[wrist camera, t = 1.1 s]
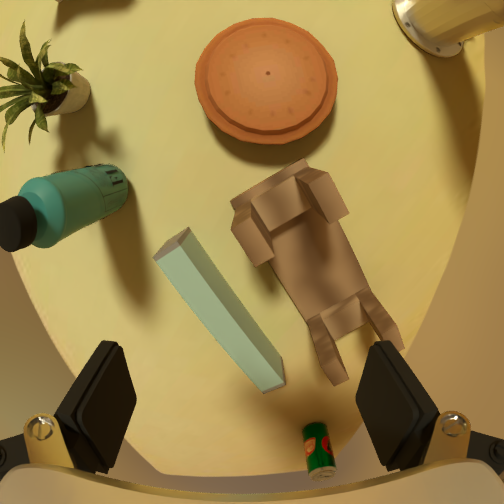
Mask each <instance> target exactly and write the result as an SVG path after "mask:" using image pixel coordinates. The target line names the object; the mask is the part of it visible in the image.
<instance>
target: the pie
mask: <svg viewBox="0 0 504 504" xmlns="http://www.w3.org/2000/svg"><path fill="white" fill-rule="evenodd" d="M337 83H338V77H337V72H336V68H335V63H334V60H333V58H332V57H331V56H330V54H329V53H328V52H327V50H326V49H325V48H324V47H323V45H322V44H321V43H320V42H319V41H318V40H317V39H316V38H315V37H314V36H312V35H311V34H310V33H309V32H308V31H306V30H304V29H302V28H300V27H298V26H296V25H294V24H292V23H289V22H285V21H282V20H278V19H274V18H252V19H249V20H245V21H242V22H239V23H236V24H233V25H232V26H230V27H228V28H227V29H225V30H223V31H222V32H220V33H219V34H217V35H216V36H215V37H214V38H213V40H212V41H211V42H210V43H209V44H208V45H207V46H206V48H205V49H204V51H203V53H202V54H201V56H200V58H199V60H198V62H197V64H196V71H195V87H196V91H197V95H198V99H199V102H200V103H201V105H202V107H203V109H204V111H205V113H206V115H207V117H208V118H209V119H210V120H211V121H212V122H213V123H214V124H215V125H216V126H217V127H218V128H219V129H221V130H222V131H223V132H225V133H227V134H229V135H230V136H232V137H234V138H236V139H238V140H240V141H244V142H251V143H257V144H280V145H283V144H286V143H288V142H291V141H294V140H297V139H300V138H302V137H304V136H305V135H307V134H308V133H310V132H311V131H313V130H314V129H316V128H317V127H318V126H319V125H320V124H321V123H322V122H323V121H324V119H325V118H326V117H327V116H328V115H329V114H330V112H331V109H332V106H333V104H334V101H335V99H336V95H337Z"/></svg>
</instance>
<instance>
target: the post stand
mask: <svg viewBox="0 0 504 504" xmlns="http://www.w3.org/2000/svg"><path fill="white" fill-rule="evenodd" d="M230 202H231V204H232V205H233V207H234V209H235V210H236V211H235V215H234V218H233V222H232V226H231V231H232V233H233V234H234V236H235V237H236V239H237V240H238V242H239V243H240V245H241V246H242V248H243V250H244V251H245V253H246V254H247V256H248V257H249V259H250V260H251V262H252V263H253V265H254V266H255V267H257V266H258V265H260V264H262V263H264V262H266V261H267V260H268V262H269V264H270V265H271V267H272V268H273V270H274V271H275V273H276V275H277V276H278V278H279V279H280V281H281V283H282V284H283V286H284V287H285V289H286V291H287V292H288V294H289V295H290V297H291V298H292V300H293V302H294V303H295V305H296V306H297V308H298V310H299V311H300V313H301V314H302V316H303V318H304V319H305V321H306V322H307V324H308V326H309V328H310V331H311V335H312V338H313V341H314V345H315V348H316V352H317V355H318V358H319V362H320V365H321V368H322V369H323V371H324V372H325V374H326V375H327V377H328V378H329V380H330V381H331V383H332V384H333V386H336V385H338V384H340V383H342V382H344V381H346V380H348V379H349V377H348V375H347V372H346V369H345V367H344V364H343V362H342V359H341V356H340V354H339V351H338V349H337V346H336V344H335V341H334V340H336V339H338V338H340V337H342V336H344V335H345V334H347V333H349V332H351V331H353V330H355V329H356V328H358V327H360V326H362V325H363V324H365V323H367V322H370V324H371V325H372V327H373V329H374V330H375V332H376V334H377V335H378V337H379V338H380V340H381V341H385V340H390V341H391V342H392V344H393V345H394V346H395V348H396V349H397V350H398V352H399V351H401V350H403V349H404V348H405V347H404V344H403V341H402V338H401V335H400V332H399V330H398V327H397V325H396V323H395V322H394V321H393V319H392V318H391V317H390V315H389V314H388V313H387V311H386V310H385V309H384V307H383V306H382V305H381V303H380V302H379V301H378V299H377V298H376V297H375V296H374V294H373V293H372V292H371V289H370V287H369V285H368V282H367V280H366V278H365V276H364V273H363V271H362V269H361V267H360V265H359V263H358V260H357V258H356V256H355V254H354V252H353V250H352V248H351V246H350V244H349V242H348V239H347V237H346V235H345V233H344V231H343V229H342V227H341V225H340V223H339V221H338V220H339V219H341V218H342V217H344V216H346V215H347V214H349V211H348V209H347V207H346V205H345V203H344V201H343V199H342V197H341V196H340V194H339V192H338V190H337V188H336V186H335V184H334V182H333V180H332V178H331V176H330V175H329V173H328V172H325V171H321V170H317V169H314V168H310V167H309V166H308V164H307V162H306V160H305V159H304V158H302V159H300V160H298V161H296V162H295V163H293V164H291V165H289V166H288V167H286V168H284V169H282V170H281V171H279V172H277V173H275V174H274V175H272V176H270V177H269V178H267V179H265V180H263V181H262V182H260V183H258V184H257V185H255V186H253V187H252V188H250V189H248V190H247V191H245V192H243V193H242V194H240V195H238V196H237V197H235V198H233V199H232V200H231V201H230Z"/></svg>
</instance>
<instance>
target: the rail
mask: <svg viewBox="0 0 504 504" xmlns="http://www.w3.org/2000/svg"><path fill="white" fill-rule="evenodd" d="M153 259H154V260H155V261H156V263H157V264H158V265H159V267H160V268H161V270H162V271H163V272H164V274H165V275H166V276H167V278H168V279H169V280H170V282H171V283H172V285H173V286H174V287H175V288H176V290H177V291H178V292H179V294H180V295H181V296H182V298H183V299H184V300H185V302H186V303H187V304H188V305H189V307H190V308H191V309H192V311H193V312H194V313H195V314H196V316H197V317H198V318H199V319H200V321H201V322H202V323H203V324H204V326H205V327H206V328H207V329H208V331H209V332H210V333H211V334H212V335H213V337H214V338H215V339H216V340H217V341H218V343H219V344H220V345H221V346H222V347H223V349H224V350H225V351H226V352H227V353H228V354H229V356H230V357H231V358H232V359H233V360H234V361H235V363H236V364H237V365H238V366H239V367H240V368H241V369H242V371H243V372H244V373H245V374H246V375H247V376H248V377H249V378H250V380H251V381H252V382H253V383H254V384H255V385H256V386H257V387H258V388H259V390H260V391H261V392H262V393H263V394H265V393H267V392H270V391H272V390H275V389H277V388H280V387H282V386H284V385H286V383H285V375H284V368H283V360H282V357H281V356H280V354H279V353H278V352H277V350H276V349H275V348H274V346H273V345H272V344H271V342H270V341H269V340H268V338H267V337H266V336H265V334H264V333H263V332H262V330H261V329H260V328H259V326H258V325H257V323H256V322H255V321H254V319H253V318H252V317H251V315H250V314H249V313H248V311H247V310H246V308H245V307H244V306H243V304H242V303H241V301H240V300H239V299H238V297H237V296H236V294H235V293H234V292H233V290H232V289H231V287H230V286H229V285H228V283H227V282H226V280H225V279H224V278H223V276H222V275H221V273H220V272H219V270H218V269H217V268H216V266H215V265H214V263H213V262H212V260H211V259H210V258H209V256H208V255H207V253H206V252H205V250H204V249H203V247H202V246H201V244H200V243H199V242H198V240H197V239H196V237H195V236H194V234H193V233H192V231H191V230H190V228H189V227H187V228H186V229H184V230H183V231H181V232H180V233H178V234H177V235H175V236H174V237H172V238H171V239H169V240H168V241H166V243H165V244H164V245H163V246H162V247H161V248H160V249H159V251H158V252H157V253H156V254H155V255H154V256H153Z"/></svg>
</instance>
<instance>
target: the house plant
mask: <svg viewBox="0 0 504 504" xmlns="http://www.w3.org/2000/svg"><path fill="white" fill-rule="evenodd" d="M51 40H52V39H51ZM51 40H50V41H51ZM50 41H49V42H50ZM47 43H48V41H47V42H45V43H44V44H43V45H42V48H41V51H40V53H39V54H38V56H37V58H36V61H34V59H33V56H32V53H31V48H30V43H29V42H28V40H27V38H26V35H25V21H24V22H23V25H22V28H21V31H20V47H21V52H22V57H23V59H24V62H25V63H26V64H27V65H28V67H29V68H30V70H31V72H32V74H33V75H34V77H35V78H34V77H33V76H32V75H31V74H30V73H29V72H27V71H26V70H24V69H23V68H21V67H20V66H19V65H17V64H16V63H14V62H13V61H11V60H9V59H6V58H3V57H0V61H1V62H2V63H3V64H4V65H6V66H8V67H9V69H8V73H7V76H8V78H9V79H7V78H5V77H4V76H2V75H1V74H0V77H2V78H4V79H5V80H8V81H10V82H12V83H15V84H18V83H16V82H20V83H21V84H22V85H21V84H19V85H11V86H4V87H0V99H1V98H8V97H12V96H19V95H22V96H20V97H17V98H15V99H13V100H11V101H9V102H7V103H6V104H4V105H2V106H0V112H1V111H3V110H4V109H6V108H7V107H9V106H11V105H13V104H14V105H13V106H12V107H10V108H9V109H8V110H7V111H6V114H5V120H6V123H7V124H6V126H5V128H4V131H3V135H2V146H3V150H4V151H5V137H6V131H7V128H8V124H9V125H10V124H12V123H13V122H14V121H15V120H16V118H17V117H18V115H19V114H20V113H21V112H22V111H23V110H25V109H26V108H28V107H29V106H31V107H32V109H33V111H34V112H35V120H34V121H33V123H32V125H31V127H30V129H29V144H30V140H31V134H32V130H33V127H34V125H35V123H36V124H37V126H38V127H39V128H41V129H43V130H45V131H47V132H49V131H48V130H47V121H46V118H45V117H47V116H52V115H58V114H64V113H71V112H76V111H78V110H80V109H81V108H82V107H83V106H84V105H85V104H86V102H87V101H88V98H89V95H90V84H89V82H88V80H87V79H85V78H84V77H83V76H81V75H80V74H79V73H77V72H76V71H79V70H82V69H80V68H79V67H78V66H77V65H76V64H72V63H67V64H65V63H63V62H54V63H50V64H48V56H47V49H48V48H49V46H50V45H48V46H47ZM41 61H42V63H43V65H44V67H45V68H44V69H43V70H42V71H41ZM14 81H16V82H14Z"/></svg>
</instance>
